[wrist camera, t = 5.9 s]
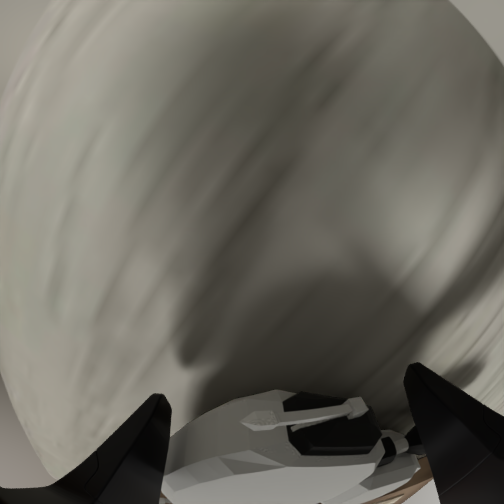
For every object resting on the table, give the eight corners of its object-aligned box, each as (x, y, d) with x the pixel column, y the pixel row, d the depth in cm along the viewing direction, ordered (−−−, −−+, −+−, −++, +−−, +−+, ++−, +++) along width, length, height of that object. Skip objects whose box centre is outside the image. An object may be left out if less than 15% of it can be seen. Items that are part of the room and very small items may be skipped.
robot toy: (458, 375, 12) (226, 308, 8) (491, 425, 7) (222, 443, 4) (340, 470, 16) (149, 447, 12) (351, 513, 12) (139, 508, 8)
